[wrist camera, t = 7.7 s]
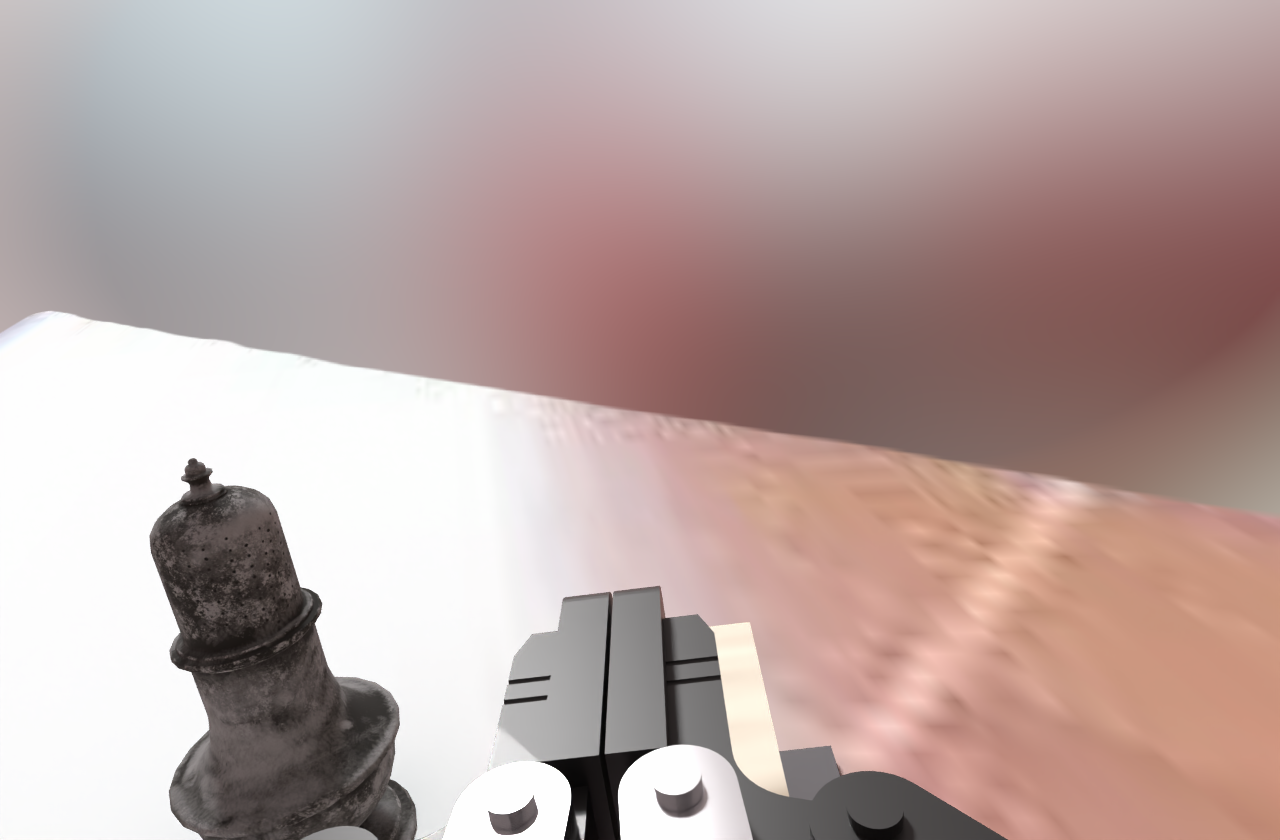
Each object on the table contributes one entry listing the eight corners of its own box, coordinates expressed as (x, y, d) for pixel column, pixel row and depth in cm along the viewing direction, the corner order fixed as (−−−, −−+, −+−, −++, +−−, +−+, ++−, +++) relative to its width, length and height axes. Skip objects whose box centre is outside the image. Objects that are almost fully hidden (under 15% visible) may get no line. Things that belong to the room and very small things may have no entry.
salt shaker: (169, 882, 23) (3, 491, 19) (346, 748, 28) (240, 407, 24) (289, 984, 20) (118, 535, 16) (469, 812, 24) (369, 427, 20)
